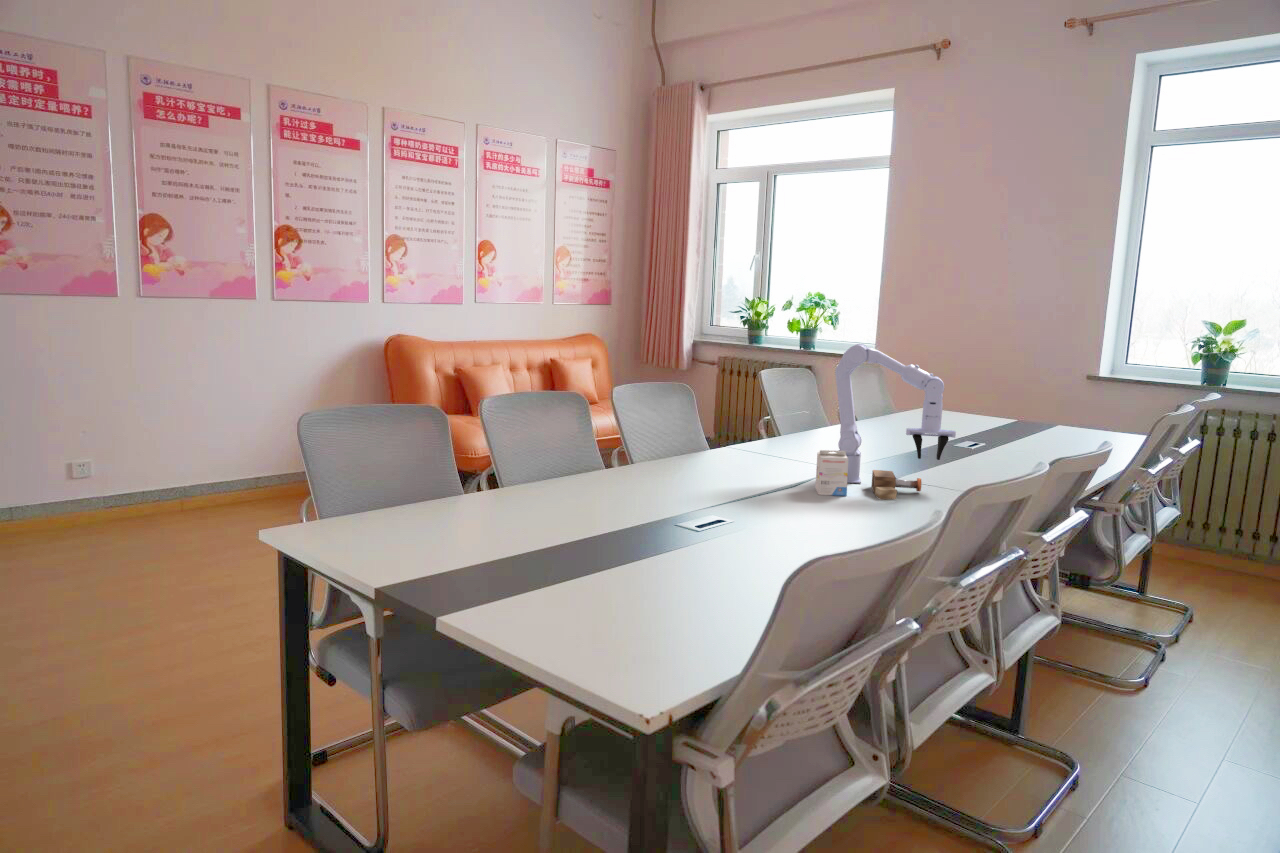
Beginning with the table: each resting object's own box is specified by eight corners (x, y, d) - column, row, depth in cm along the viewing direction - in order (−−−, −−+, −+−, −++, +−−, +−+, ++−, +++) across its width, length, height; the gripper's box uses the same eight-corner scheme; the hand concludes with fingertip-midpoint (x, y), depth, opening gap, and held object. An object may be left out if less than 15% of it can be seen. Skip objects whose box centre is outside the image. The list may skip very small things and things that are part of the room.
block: (879, 499, 253) (880, 489, 253) (874, 496, 257) (875, 486, 257) (896, 499, 254) (896, 490, 253) (891, 496, 257) (891, 486, 257)
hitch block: (874, 493, 260) (875, 476, 259) (871, 486, 269) (872, 469, 269) (894, 495, 259) (895, 477, 258) (891, 487, 268) (892, 471, 267)
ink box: (843, 490, 264) (845, 447, 262) (846, 496, 256) (849, 452, 253) (814, 488, 265) (817, 446, 262) (817, 495, 256) (820, 451, 254)
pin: (880, 490, 262) (881, 477, 262) (879, 487, 266) (879, 474, 265) (920, 492, 260) (921, 479, 259) (919, 489, 264) (920, 477, 263)
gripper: (909, 416, 263) (906, 459, 265) (958, 418, 260) (955, 462, 263) (906, 413, 270) (903, 455, 272) (954, 415, 267) (951, 458, 269)
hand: (928, 458), depth 268 cm, fingers open, 5 cm apart
